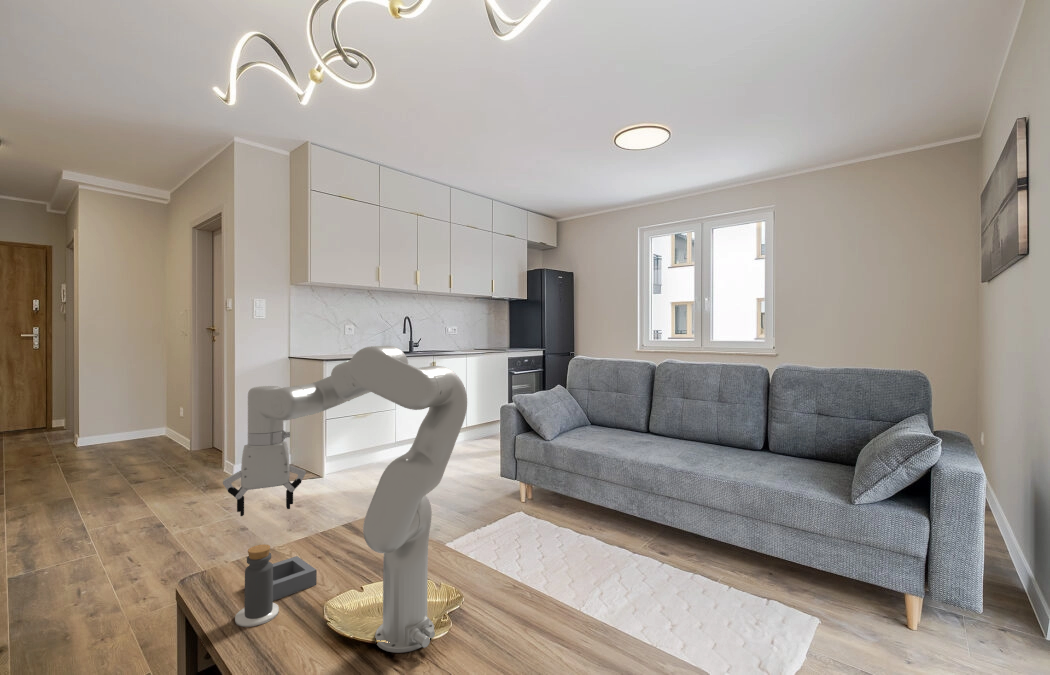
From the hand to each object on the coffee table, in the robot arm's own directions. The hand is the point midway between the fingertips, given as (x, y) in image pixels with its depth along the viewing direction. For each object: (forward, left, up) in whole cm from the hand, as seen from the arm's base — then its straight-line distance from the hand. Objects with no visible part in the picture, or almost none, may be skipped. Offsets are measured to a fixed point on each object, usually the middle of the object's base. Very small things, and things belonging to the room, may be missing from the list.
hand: (265, 510), depth 116 cm
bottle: (0, +1, -24) cm, 24 cm away
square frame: (+10, -8, -24) cm, 28 cm away
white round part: (0, +2, -24) cm, 24 cm away
